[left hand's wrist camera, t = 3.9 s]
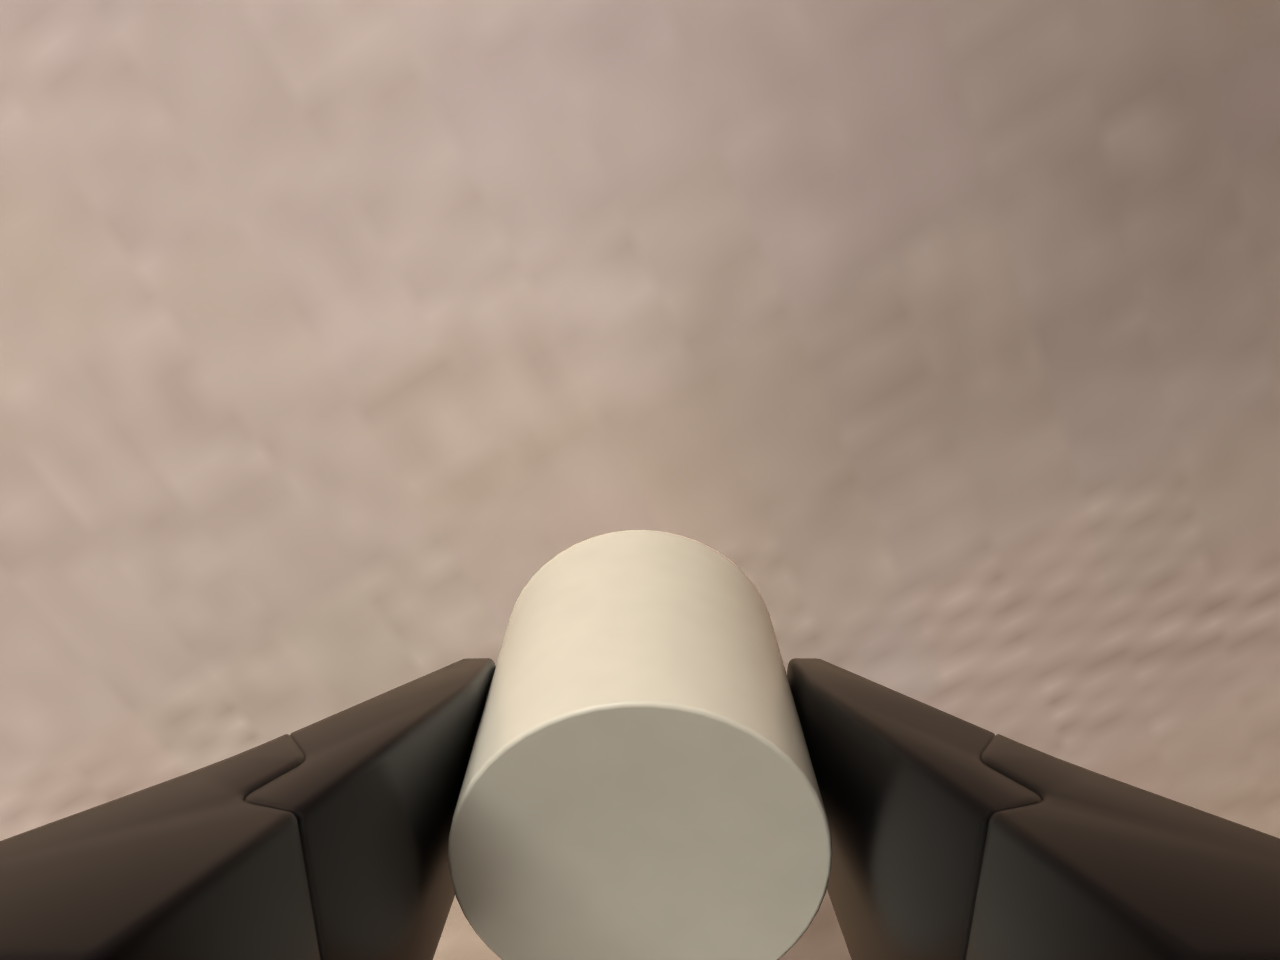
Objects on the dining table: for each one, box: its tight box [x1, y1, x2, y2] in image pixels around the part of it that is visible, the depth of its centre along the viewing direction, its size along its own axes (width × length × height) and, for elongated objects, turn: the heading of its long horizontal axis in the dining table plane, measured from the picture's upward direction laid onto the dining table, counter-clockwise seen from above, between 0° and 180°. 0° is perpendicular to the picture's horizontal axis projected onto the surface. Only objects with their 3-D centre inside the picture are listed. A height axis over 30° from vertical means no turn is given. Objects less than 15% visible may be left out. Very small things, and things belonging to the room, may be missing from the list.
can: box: [448, 530, 832, 960], centre depth 11 cm, size 4×4×4 cm
